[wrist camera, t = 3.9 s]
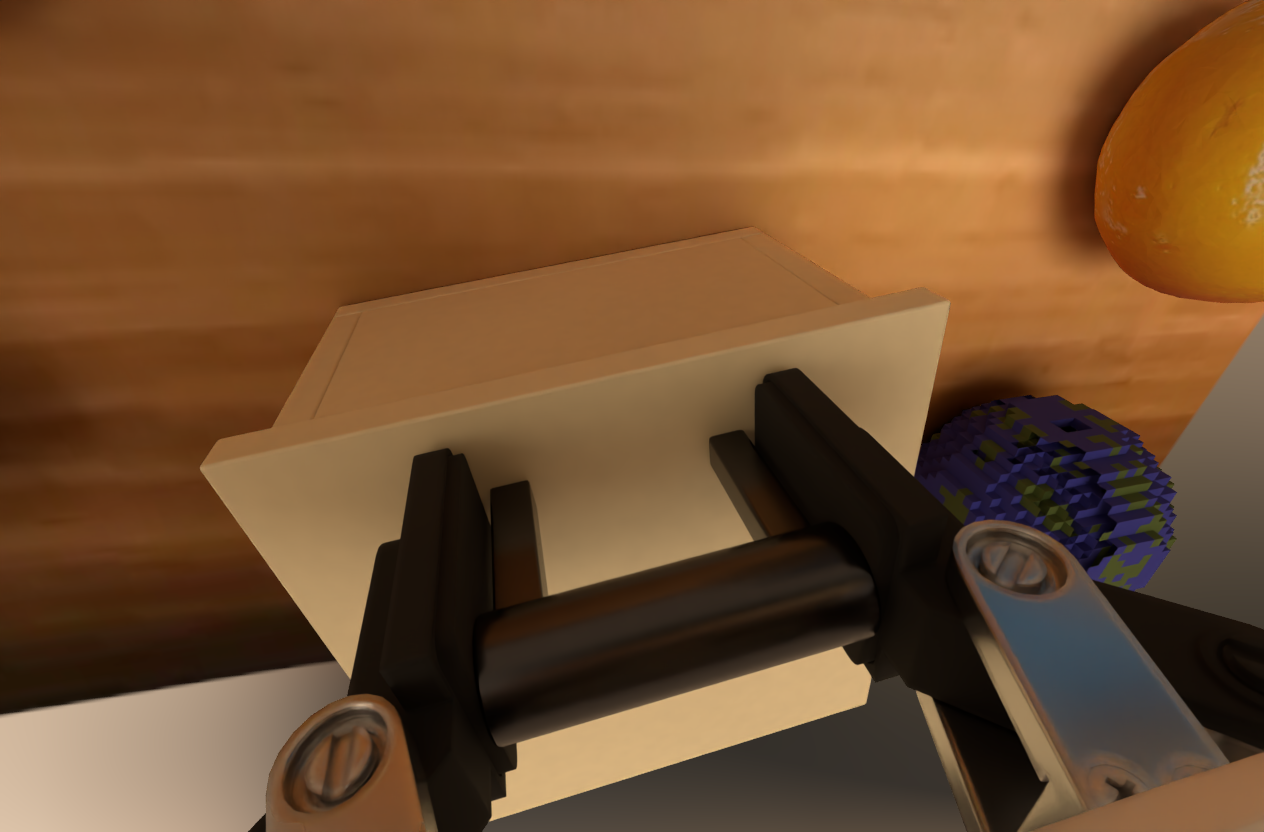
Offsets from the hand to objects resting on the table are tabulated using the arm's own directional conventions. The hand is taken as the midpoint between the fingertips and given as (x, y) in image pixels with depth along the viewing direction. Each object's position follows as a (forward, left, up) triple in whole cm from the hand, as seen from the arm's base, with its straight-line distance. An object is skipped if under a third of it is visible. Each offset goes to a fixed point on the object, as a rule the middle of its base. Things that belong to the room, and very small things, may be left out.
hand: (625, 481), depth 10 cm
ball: (+11, +16, -9) cm, 21 cm away
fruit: (-1, +21, -9) cm, 23 cm away
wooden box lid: (+5, 0, -1) cm, 5 cm away
